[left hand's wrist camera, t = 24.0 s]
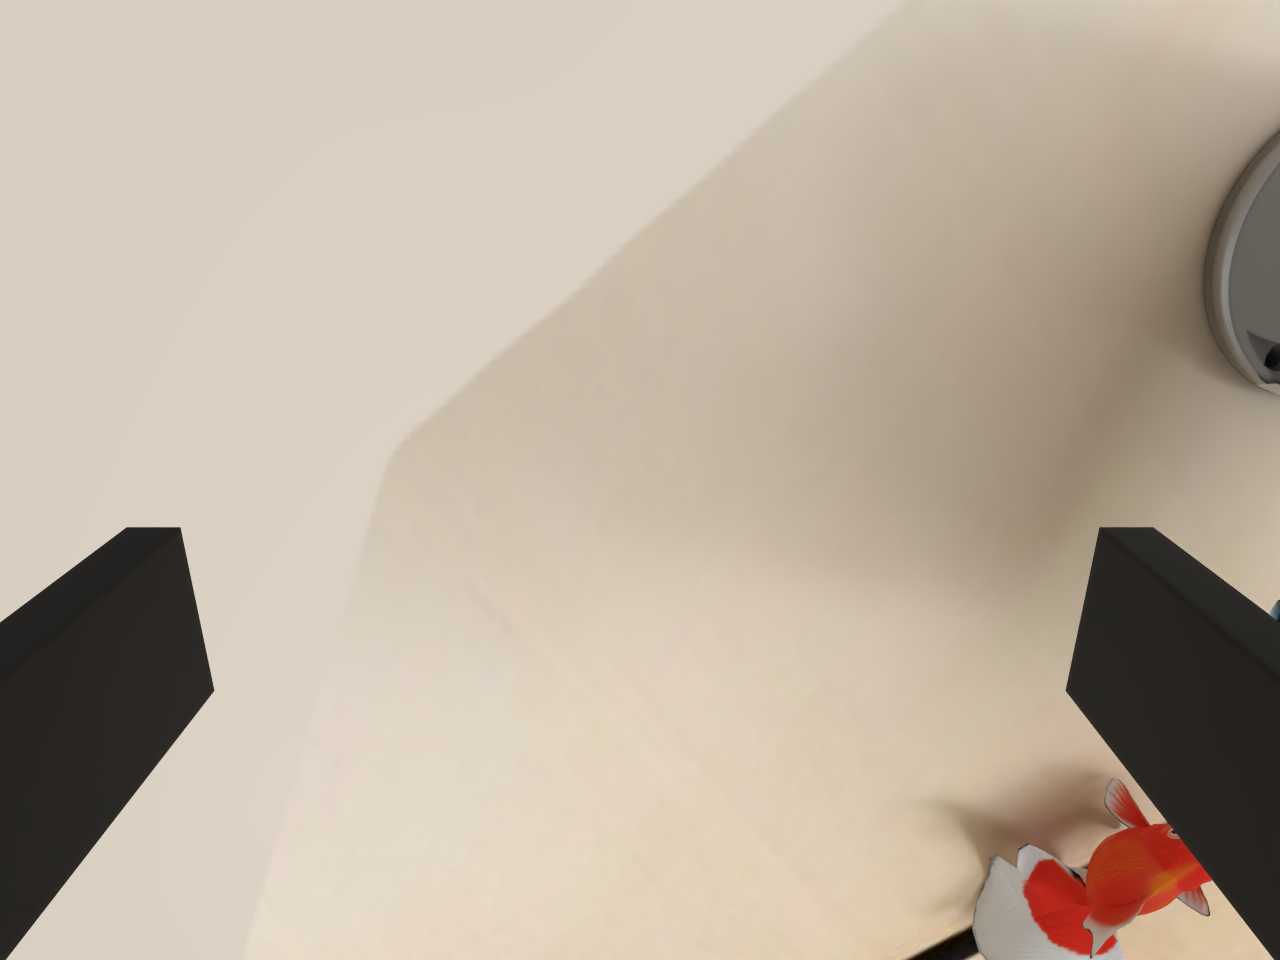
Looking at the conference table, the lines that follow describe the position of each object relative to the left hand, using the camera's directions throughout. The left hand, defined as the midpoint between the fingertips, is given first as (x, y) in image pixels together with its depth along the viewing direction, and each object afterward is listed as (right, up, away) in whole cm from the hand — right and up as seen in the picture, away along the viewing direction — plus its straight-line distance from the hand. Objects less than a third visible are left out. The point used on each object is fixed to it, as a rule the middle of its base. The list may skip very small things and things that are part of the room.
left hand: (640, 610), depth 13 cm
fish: (+27, -21, +43) cm, 55 cm away
